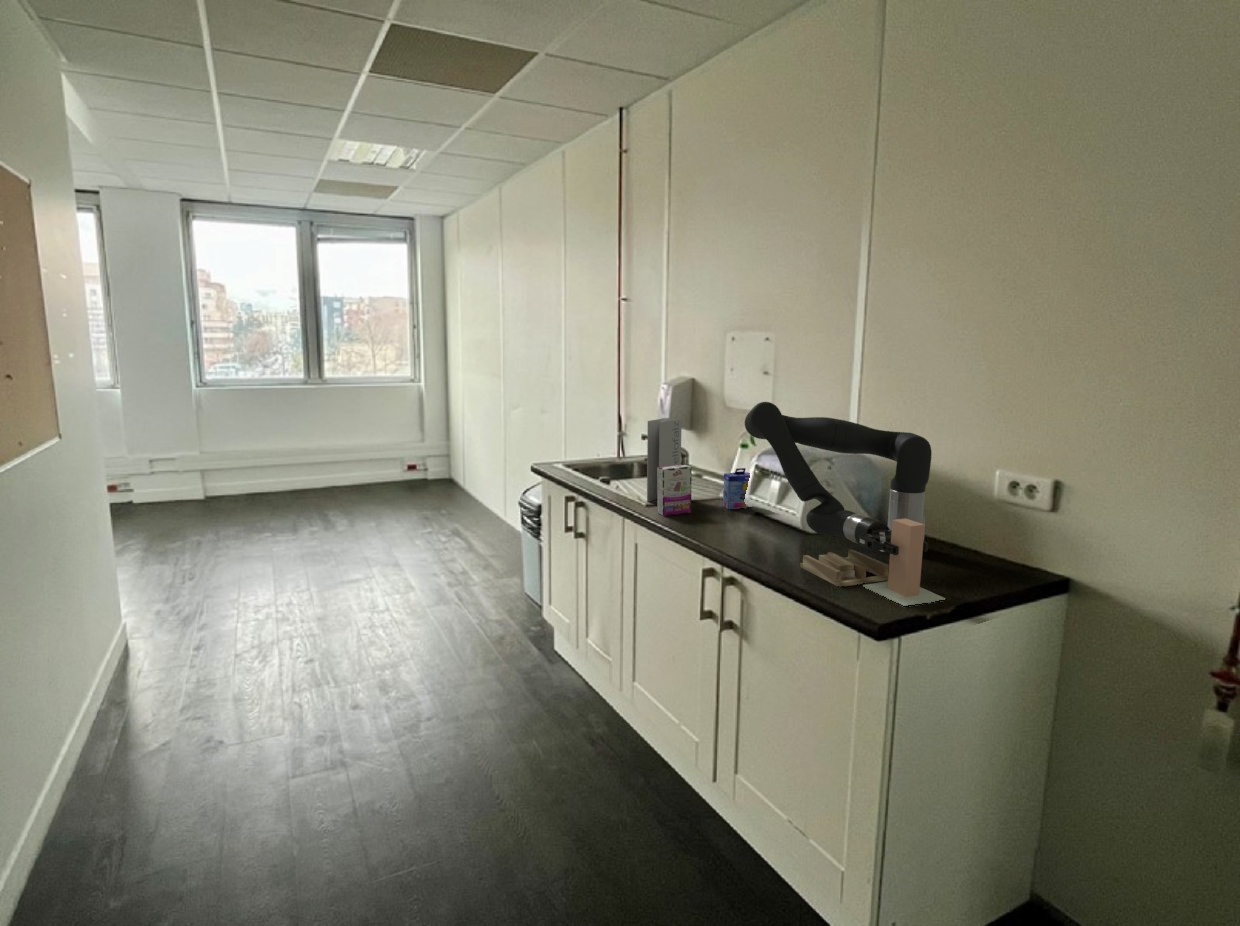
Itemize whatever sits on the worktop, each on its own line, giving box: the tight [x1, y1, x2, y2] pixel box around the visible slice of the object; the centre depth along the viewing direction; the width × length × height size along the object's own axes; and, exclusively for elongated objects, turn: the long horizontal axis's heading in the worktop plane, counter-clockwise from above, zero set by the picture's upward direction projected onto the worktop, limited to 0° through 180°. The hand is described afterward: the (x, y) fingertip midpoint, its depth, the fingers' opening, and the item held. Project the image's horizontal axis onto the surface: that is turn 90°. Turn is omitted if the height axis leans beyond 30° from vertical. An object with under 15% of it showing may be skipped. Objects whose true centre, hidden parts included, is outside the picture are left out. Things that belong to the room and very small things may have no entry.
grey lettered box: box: [646, 417, 683, 503], centre depth 261 cm, size 14×6×30 cm, turn 143°
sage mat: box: [862, 580, 946, 607], centre depth 167 cm, size 12×14×1 cm
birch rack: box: [799, 549, 889, 588], centre depth 182 cm, size 16×16×4 cm
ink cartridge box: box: [722, 467, 751, 510], centre depth 250 cm, size 10×6×14 cm, turn 104°
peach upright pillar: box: [887, 518, 926, 597], centre depth 166 cm, size 4×6×17 cm, turn 21°
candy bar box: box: [656, 464, 692, 517], centre depth 242 cm, size 11×5×16 cm, turn 114°
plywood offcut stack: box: [818, 554, 856, 581], centre depth 180 cm, size 4×11×4 cm, turn 17°
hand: (912, 549), depth 164 cm, fingers open, 8 cm apart
